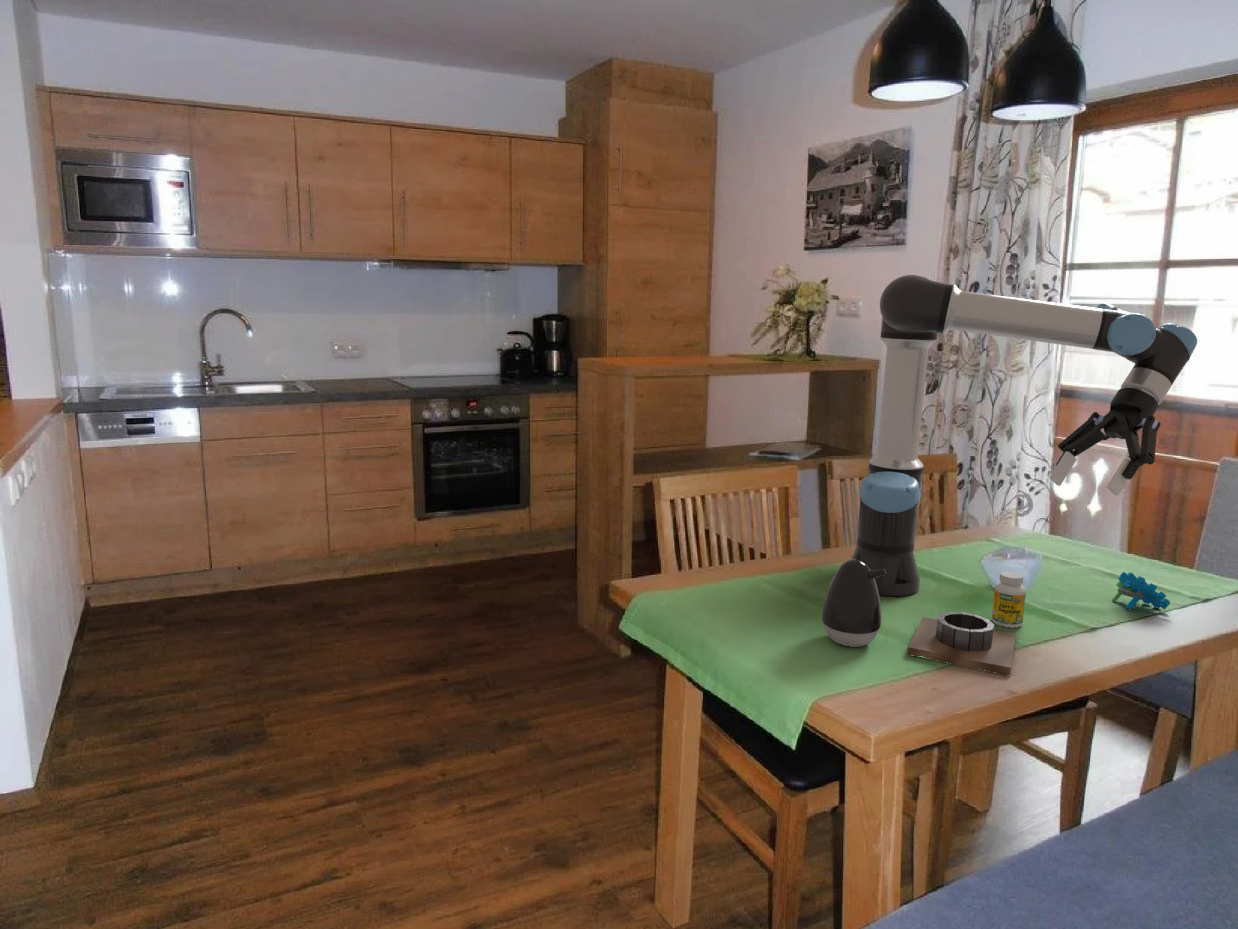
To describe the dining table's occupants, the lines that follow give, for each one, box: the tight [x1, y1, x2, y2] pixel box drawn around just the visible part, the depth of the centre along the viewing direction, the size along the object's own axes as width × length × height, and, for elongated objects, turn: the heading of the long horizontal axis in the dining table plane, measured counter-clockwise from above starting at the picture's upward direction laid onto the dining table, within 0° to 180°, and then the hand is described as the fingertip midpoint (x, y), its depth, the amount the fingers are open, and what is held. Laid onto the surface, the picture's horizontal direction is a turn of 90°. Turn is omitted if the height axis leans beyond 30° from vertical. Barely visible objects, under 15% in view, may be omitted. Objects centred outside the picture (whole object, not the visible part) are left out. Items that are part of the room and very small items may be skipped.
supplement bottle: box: [991, 571, 1027, 629], centre depth 158 cm, size 5×5×10 cm
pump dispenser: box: [821, 558, 886, 648], centre depth 148 cm, size 10×10×15 cm
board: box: [907, 616, 1017, 676], centre depth 147 cm, size 16×16×2 cm
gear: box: [1111, 571, 1171, 611], centre depth 168 cm, size 11×6×10 cm
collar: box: [936, 611, 995, 651], centre depth 146 cm, size 9×9×4 cm
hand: (1082, 486), depth 161 cm, fingers open, 13 cm apart
